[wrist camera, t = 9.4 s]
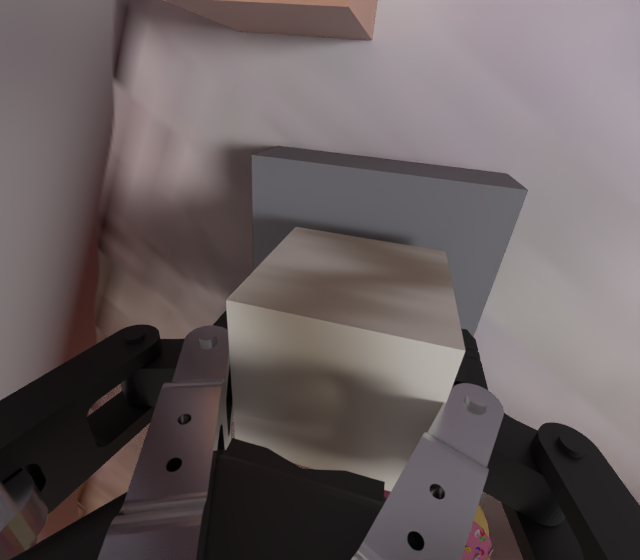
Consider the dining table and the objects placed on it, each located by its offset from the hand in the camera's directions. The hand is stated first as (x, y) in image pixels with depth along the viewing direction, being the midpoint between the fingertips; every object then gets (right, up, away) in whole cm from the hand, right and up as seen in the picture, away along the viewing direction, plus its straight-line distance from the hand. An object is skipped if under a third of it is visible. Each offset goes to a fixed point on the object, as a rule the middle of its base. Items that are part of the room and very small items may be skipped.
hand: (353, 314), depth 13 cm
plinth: (+1, +2, +4) cm, 5 cm away
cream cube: (0, 0, +1) cm, 1 cm away
